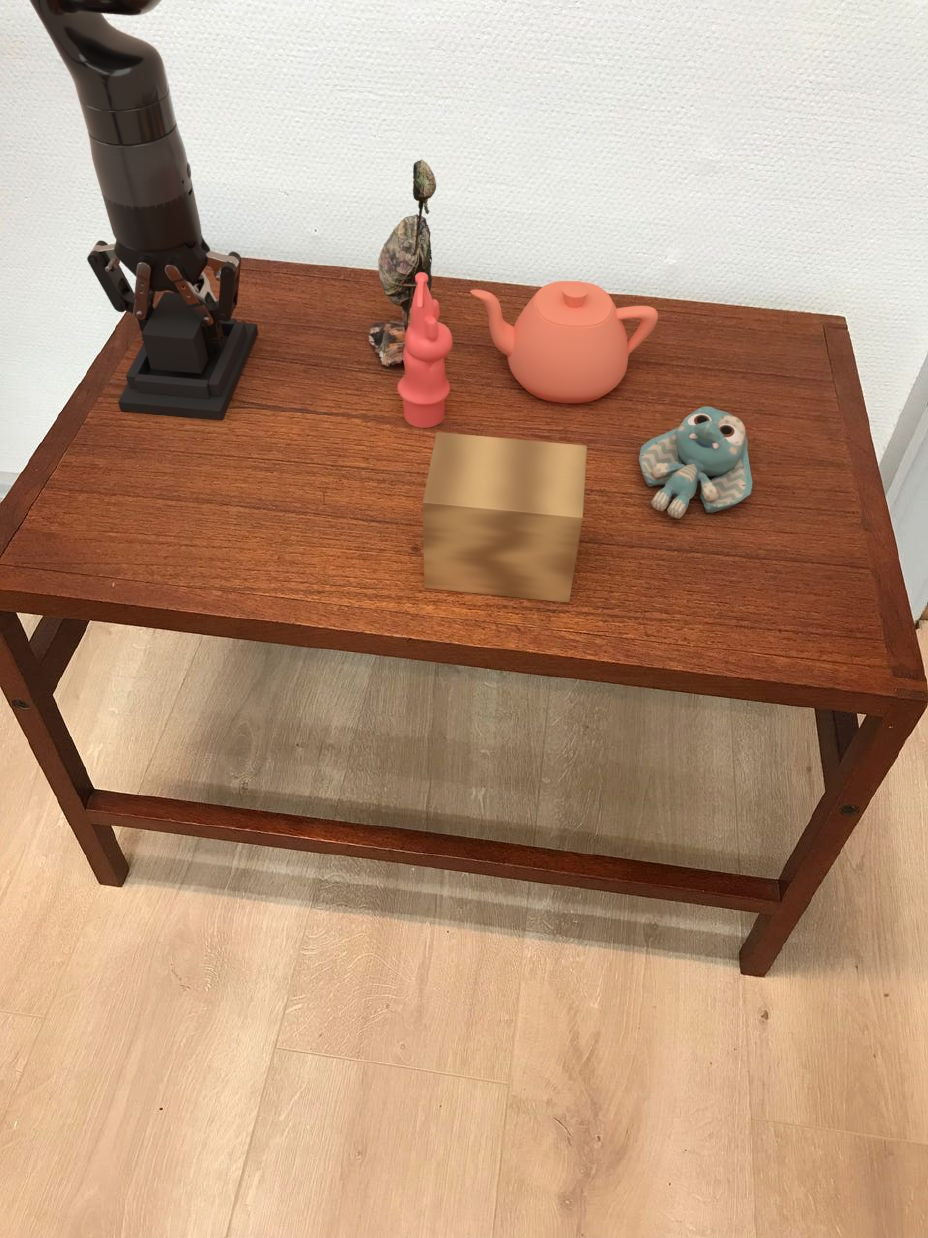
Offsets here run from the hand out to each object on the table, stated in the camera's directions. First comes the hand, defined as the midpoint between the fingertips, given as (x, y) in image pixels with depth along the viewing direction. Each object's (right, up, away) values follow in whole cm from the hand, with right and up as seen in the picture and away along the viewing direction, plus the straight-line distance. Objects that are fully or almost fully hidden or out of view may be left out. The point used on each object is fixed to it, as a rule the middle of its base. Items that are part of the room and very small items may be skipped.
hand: (186, 348), depth 96 cm
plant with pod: (+21, +2, +6) cm, 22 cm away
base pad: (0, -2, +2) cm, 3 cm away
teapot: (+37, -2, +3) cm, 37 cm away
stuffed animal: (+48, -14, -7) cm, 50 cm away
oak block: (+30, -22, -13) cm, 39 cm away
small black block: (0, 0, 0) cm, 0 cm away
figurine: (+23, -7, -1) cm, 25 cm away
